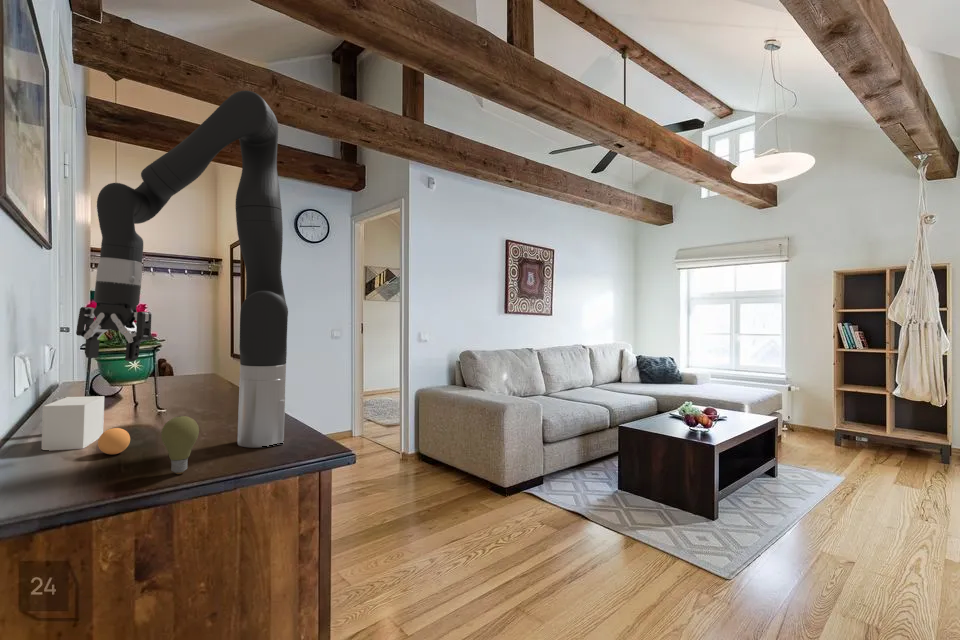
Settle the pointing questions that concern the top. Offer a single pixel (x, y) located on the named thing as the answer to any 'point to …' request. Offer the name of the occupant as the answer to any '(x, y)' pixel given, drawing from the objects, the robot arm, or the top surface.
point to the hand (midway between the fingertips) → (111, 359)
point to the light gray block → (72, 422)
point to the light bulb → (179, 441)
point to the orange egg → (114, 441)
